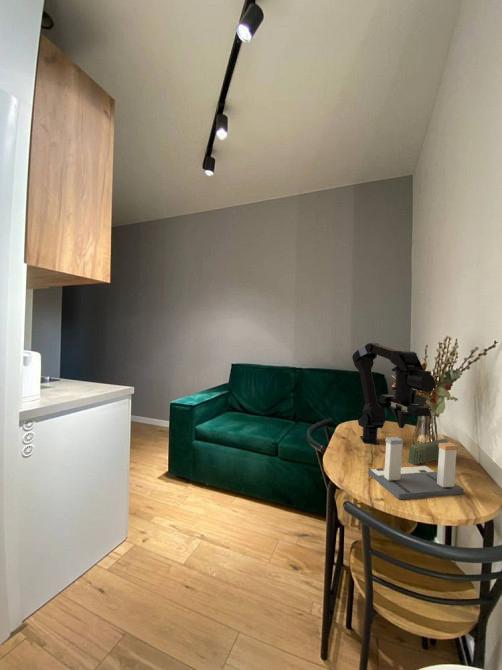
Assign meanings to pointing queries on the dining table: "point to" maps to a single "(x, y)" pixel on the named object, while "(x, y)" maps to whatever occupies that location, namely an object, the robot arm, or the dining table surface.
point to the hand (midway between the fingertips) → (401, 427)
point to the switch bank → (414, 483)
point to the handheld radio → (424, 452)
